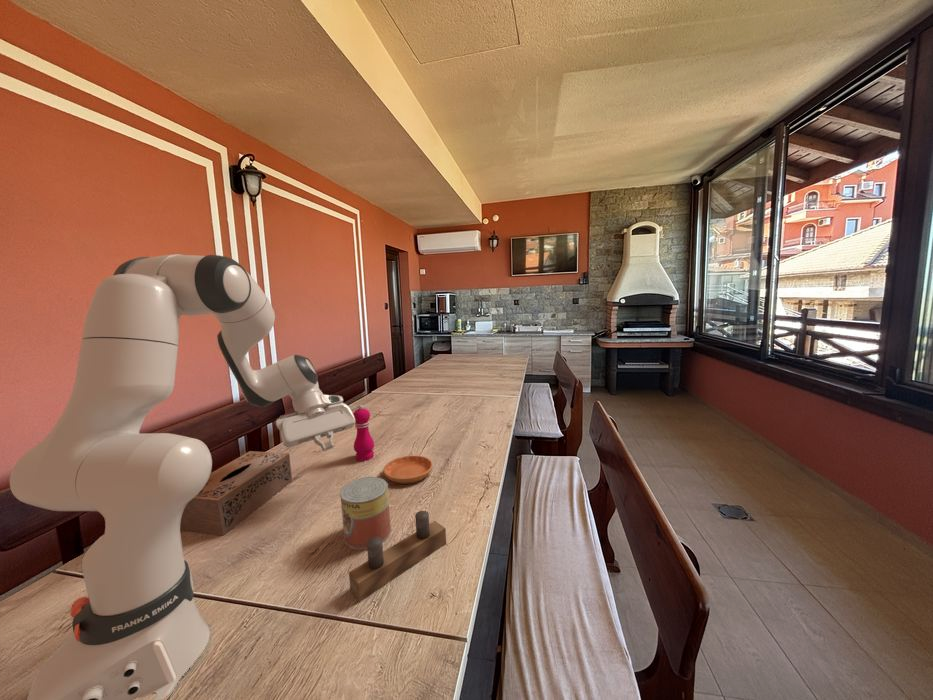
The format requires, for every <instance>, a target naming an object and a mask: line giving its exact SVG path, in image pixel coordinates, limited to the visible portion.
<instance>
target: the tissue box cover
mask: <svg viewBox="0 0 933 700" xmlns="http://www.w3.org/2000/svg"><path fill="white" fill-rule="evenodd" d="M290 458H291V457H290V453H286V452H283V453H282V452H270V451H269V452H268V451H255V450H253V451H252V450H249V451H248V452H246V453H244V454H242V455H241V456H239V457H237V458H235V459H233V460H232V461H230V462H228V463H226V464H224V465H223V466H220V467H218V468H217V469H216V470H214V471H211V474H210V477H209V479H208V481H207V483H206V484H205V486H204V487H203V489H202V490H201V491H200V492H199V493H198V494H197V495H196V496H195V497H194V498H193V499H192V500H190V501H189V502H188V504H187V505H186V507H185V509H184V511H183V514H182V517H181V523H180V530H181V531H180V532H187V531H188V533H195V534H197V533H198V534H206V535H214V536H221V537H222V536H225V535H226V534H228V533H230V531H232V530H233V529H234V528H235V526H236V525H237V526H238V525H239V524H240V522H241V523H243V521H245V520H246V519H248V518H249V517H250V516H251V515H253V513H254V511H255V512H256V511H257V510H258V508H259V507H260V508H261V507H262V506H264V505H265V504H266V503H268V501H270V500H271V499H273V498H274V497H275V496H277V495H278V494H279V493H280V492H281V490H282V489H283V488H284V487H285V488H287V487H288V486H289V485H290V484H289V483H291V482H292V483H293V475H292V467H291V459H290ZM292 483H291V484H292ZM288 484H289V485H288ZM287 485H288V486H287ZM286 486H287V487H286ZM285 488H284V489H285ZM284 489H283V490H284ZM279 491H280V492H279ZM278 492H279V493H278ZM277 493H278V494H277ZM273 496H274V497H273ZM272 497H273V498H272ZM263 504H264V505H263ZM260 508H259V509H260ZM249 515H250V516H249ZM237 526H236V527H237Z"/></svg>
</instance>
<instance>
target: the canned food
mask: <svg viewBox="0 0 933 700" xmlns="http://www.w3.org/2000/svg"><path fill="white" fill-rule="evenodd" d="M339 497H340V503H341V504H340V506H341V514H342V524H343V526H342V528H343V534H344V537H343V540H344V541H343V542H344V543H345V545H346V546H347V547H349V548H351V549H354V550H367V541H368V540H369V539H370V538H372V537H380V538H381V539H382V543H384V542H385V541H386V540H387V539H388V538H389V536H390V534H391V533H392V526H391V516H390V515H391V513H390V501H389V499H390V497H389V484H388V482H387V481H386V480H385V479H384V478H381V477H378V476H365V477H361V478H356V479H354V480H352V481H350V482H348V483H347V484H345V485H344V486H343V487H342V488H341V490H340V491H339Z"/></svg>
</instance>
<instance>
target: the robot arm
mask: <svg viewBox="0 0 933 700" xmlns="http://www.w3.org/2000/svg"><path fill="white" fill-rule="evenodd" d="M93 294H94V295H93V297H92V299H91V301H90V304H89V307H88V310H87V314H86V316H85V321H84V325H83V329H82V335H81V343H80V350H79V356H78V362H77V366H76V372H75V379H74V384H73V387H72V391H71V395H70V396H69V400H68V401H67V404H66V405H65V408H64V410H63V412H62V413H61V415H60V417H59V418H58V419H57V422H56V423H55V425H54V426H53V427H52V428H51V430H50V431H49V433H48V434H47V436H45V438H43V440H41V441H40V442H39V443H38V444H36V445H35V446H33V447H32V448H30V449H28V450H27V451H26V452H25V453H23V455H22V456H21V457H19V459H18V460H17V461H16V463H15V464H14V466H13V468H12V471H11V473H10V476H9V487H10V490H11V493H12V494H13V496H14V497H15V499H17V500H18V501H20V502H22V503H23V504H27V505H30V506H34V507H37V508H41V509H45V510H50V511H52V512H53V511H54V512H98V513H99V514H100V515H101V516H102V517H103V519H104V522H105V523H104V526H105V528H104V533H103V535H101V536H99V538H97V539H96V540H95V542H94V543H92V545H91V546H90V547H89V548H88V549H87V551H86V552H85V553H84V556H83V557H82V560H81V571H82V575H83V581H84V583H85V584H84V585H85V588H86V592H87V596H83V597H80V598H78V599H75V600H74V601H73V603H72V604H71V611H70V613H69V615H70V617H71V618H72V631H73V634H72V635H71V636H70V638H68V639H67V640H66V641H65V642H64V644H62V645H61V646H60V647H59V648H57V650H56V651H55V652H54V653H53V654H52V655H51V656H49V657H48V659H46V660H45V662H44V663H43V664H42V666H41V667H40V668H39V670H38V672H37V673H36V676H35V678H34V679H33V680H32V681H33V682H32V684H31V686H30V688H29V691H28V695H27V698H26V699H27V700H133V699H136V698H138V697H139V698H141V697H142V698H141V699H144V698H145V697H146V696H148V695H150V694H152V695H153V694H157V696H156V698H155V699H154V700H158V699H159V700H162V699H164V698H166V696H168V695H169V694H170V693H171V692H172V690H173V689H174V687H175V685H176V684H177V682H178V680H179V679H180V677H181V676H182V675H183V674H184V673H185V672H186V671H187V669H189V667H190V666H191V665H192V664H193V663H194V661H195V660H196V659H197V658H198V657H199V655H200V654H201V653H202V652H203V650H204V649H205V647H206V645H207V646H208V644H209V641H210V636H211V630H210V627H209V624H207V623H206V622H205V620H204V618H203V617H202V615H201V613H200V611H199V610H198V607H197V605H196V602H195V599H194V591H195V588H194V581H193V576H192V571H191V568H190V567H189V564H188V562H187V561H186V559H185V556H184V551H183V550H184V549H183V542H182V536H181V531H180V523H181V517H182V514H183V511H184V509H185V507H186V505H187V504H188V502H189V501H190V500H192V499H193V498H194V497H195V496H196V495H197V494H198V493H199V492H200V491H201V490H202V489H203V487H204V486H205V484H206V483H207V481H208V479H209V477H210V474H211V473H212V470H213V459H212V454H211V452H210V450H209V448H208V446H207V444H205V443H204V442H203V441H202V440H200V439H199V438H193V437H189V436H185V435H180V434H176V433H169V432H162V433H161V432H160V433H159V432H153V433H152V432H149V433H143V432H142V433H140V432H141V431H140V430H141V428H142V425H143V423H144V420H145V419H146V417H147V416H148V415H149V413H150V412H151V411H152V409H154V407H156V406H157V405H159V404H161V403H163V402H164V401H165V400H167V399H168V398H169V397H170V396H171V395H172V393H173V392H174V388H175V384H176V383H175V382H176V374H177V373H176V372H177V363H178V353H179V352H178V351H179V340H180V339H179V338H180V321H179V320H180V318H181V316H182V315H183V316H189V317H190V316H202V315H210V314H213V315H214V316H215V318H216V319H217V320H218V321H219V324H220V325H221V329H220V331H219V332H218V333H217V335H216V336H217V337H216V339H217V344H218V346H219V349H220V352H221V354H222V355H223V357H224V360H225V362H226V364H227V365H228V368H229V369H230V370H231V373H232V375H233V376H234V378H235V379H236V382H237V383H238V385H239V387H240V390H241V392H242V395H243V398H244V399H245V400H246V403H249V405H250V406H254V407H258V408H266V407H268V406H270V405H272V404H274V402H275V403H276V401H278V400H280V399H282V398H284V397H286V396H289V397H290V399H291V400H292V402H291V403H292V407H293V410H294V412H291V413H287V414H283V415H280V416H279V417H277V419H275V426H276V428H277V430H278V431H280V437H281V442H282V444H283V446H285V448H291V447H294V446H297V445H301V444H303V443H307V442H310V441H313V442H314V444H316V445H317V446H319V447H320V449H321V450H322V452H325V451H329V450H332V449H334V448H335V443H334V442H333V440H334V435H335V434H337V433H340V432H343V431H346V430H349V429H352V428H353V427H354V426H355V417H354V415H353V413H354V412H353V411H352V410H351V408H350V407H349V405H347V404H346V403H344V398H343V396H341V395H334V394H324V393H323V392H322V390H321V389H320V385H319V381H318V378H319V376H318V373H317V371H316V369H315V367H314V365H313V363H312V361H311V360H310V359H309V358H308V357H306V356H302V355H301V354H294V355H291V356H288V357H286V358H283V359H281V360H279V361H277V362H275V363H272V364H270V365H268V366H265V367H262V368H260V369H253V368H252V366H251V364H250V362H249V360H248V359H247V356H246V355H247V354H248V353H249V352H250V350H251V349H252V348H254V347H255V346H256V345H257V344H258V343H260V342H261V341H262V340H263V339H265V338H266V337H267V336H268V335H269V333H270V332H271V330H272V329H273V327H274V324H275V320H276V314H275V313H276V312H275V310H274V307H273V306H272V303H271V302H270V300H269V298H268V297H267V295H266V294H265V292H264V291H263V289H262V288H261V287H260V285H259V284H258V283H257V281H255V279H254V277H253V276H251V274H250V273H249V272H248V271H247V270H246V269H245V268H244V266H242V265H241V264H240V263H239V262H237V261H236V260H235V259H234V258H231V257H227V256H223V255H218V254H207V255H199V254H198V255H196V254H194V255H193V254H181V253H177V254H166V255H165V254H164V255H156V256H151V257H150V256H142V257H141V256H140V257H136V258H133V259H129V260H127V261H125V262H123V263H121V264H120V265H119V266H118V267H117V268H116V269H115V270H114V272H113V274H112V275H111V276H108V277H106V278H104V279H103V280H101V282H100V283H99V284H98V286H97V288H96V289H95V292H94V293H93ZM323 437H326V438H327V439H328V441H326V442H324V441H323V440H322V439H321V438H323ZM207 643H208V644H207ZM206 648H207V647H206ZM205 650H206V649H205ZM205 650H204V651H205ZM203 653H204V652H203Z"/></svg>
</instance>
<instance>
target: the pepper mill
mask: <svg viewBox="0 0 933 700" xmlns="http://www.w3.org/2000/svg"><path fill="white" fill-rule="evenodd" d="M357 407H358V409H356V410H354V412H352V413H353V415H354V417H355V423H354V426H355V428H356V437H355V440H354V442H353V450H354V451H355V459H356V460H357V461H359V460H360V462H365V460H366V461H369V459H370V460H371V459H373V458H374V456H375V455H374V454H375V453H374V448H375V442H374V439H373V437H372V435H371V434H370V430H369V429H370V428H369V426H370V421H369V420H370V418H371V413H370V411H369V410H368V409H367V408H364V405H363V404H359V405H358V406H357Z"/></svg>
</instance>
